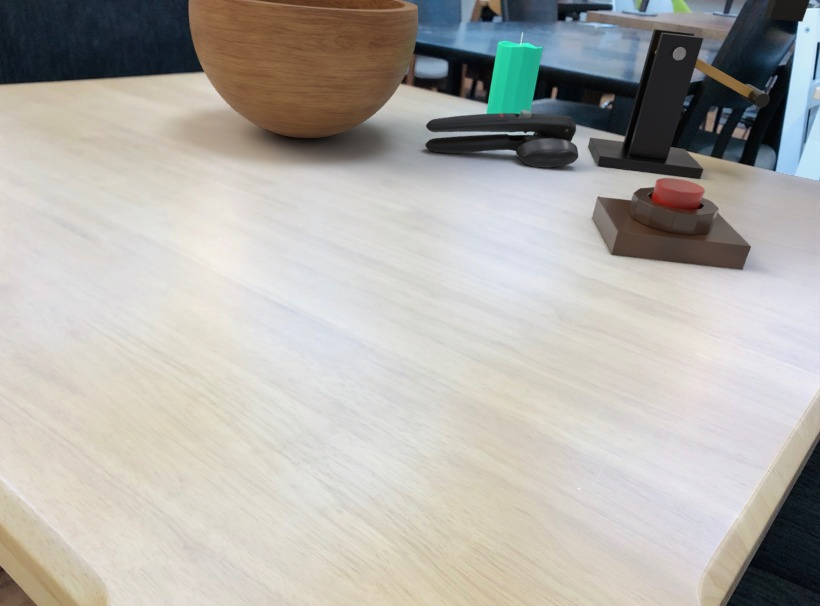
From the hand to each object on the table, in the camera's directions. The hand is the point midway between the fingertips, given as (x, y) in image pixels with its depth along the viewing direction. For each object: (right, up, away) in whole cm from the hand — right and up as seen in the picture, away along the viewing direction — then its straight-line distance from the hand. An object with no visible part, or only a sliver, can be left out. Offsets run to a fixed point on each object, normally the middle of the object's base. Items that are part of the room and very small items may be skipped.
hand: (782, 19), depth 61 cm
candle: (-17, +2, +37) cm, 41 cm away
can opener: (-21, -6, +22) cm, 31 cm away
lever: (+3, +2, +21) cm, 21 cm away
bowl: (-44, -3, +23) cm, 50 cm away
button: (-9, -16, 0) cm, 18 cm away
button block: (-10, -19, +2) cm, 22 cm away
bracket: (-2, -6, +26) cm, 27 cm away
